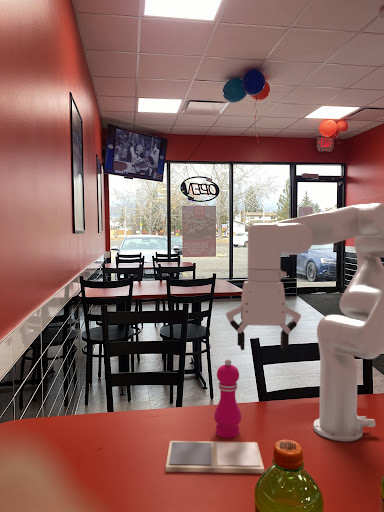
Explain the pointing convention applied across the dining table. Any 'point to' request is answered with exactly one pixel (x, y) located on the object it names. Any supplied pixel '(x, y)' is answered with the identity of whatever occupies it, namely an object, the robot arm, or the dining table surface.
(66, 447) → the dining table surface
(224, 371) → the pepper mill
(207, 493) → the dining table surface
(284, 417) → the dining table surface
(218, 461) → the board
